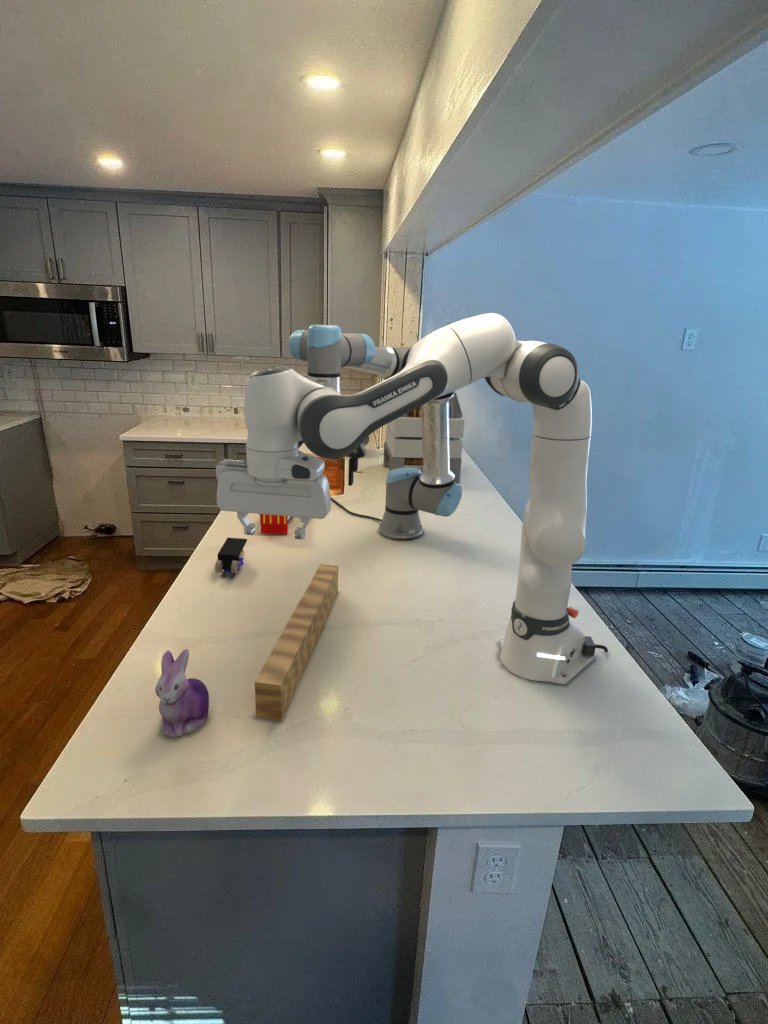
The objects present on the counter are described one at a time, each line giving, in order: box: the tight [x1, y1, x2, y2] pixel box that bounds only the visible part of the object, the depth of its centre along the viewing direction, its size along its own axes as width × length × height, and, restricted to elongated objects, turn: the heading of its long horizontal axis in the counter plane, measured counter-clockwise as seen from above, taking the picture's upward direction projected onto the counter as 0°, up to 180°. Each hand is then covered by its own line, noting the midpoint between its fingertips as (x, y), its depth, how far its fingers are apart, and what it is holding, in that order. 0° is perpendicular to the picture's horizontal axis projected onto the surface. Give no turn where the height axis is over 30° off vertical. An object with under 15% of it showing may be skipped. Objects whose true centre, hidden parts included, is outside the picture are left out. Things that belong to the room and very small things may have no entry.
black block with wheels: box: [214, 537, 248, 578], centre depth 166 cm, size 7×8×15 cm
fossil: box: [346, 435, 370, 458], centre depth 306 cm, size 22×10×15 cm
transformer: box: [383, 391, 465, 484], centre depth 268 cm, size 34×33×41 cm
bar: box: [254, 563, 339, 722], centre depth 131 cm, size 53×5×8 cm, turn 173°
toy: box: [259, 514, 292, 535], centre depth 206 cm, size 12×13×30 cm
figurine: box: [154, 648, 210, 738], centre depth 104 cm, size 9×10×15 cm
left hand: (323, 482), depth 139 cm, fingers open, 13 cm apart
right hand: (274, 536), depth 103 cm, fingers open, 8 cm apart
